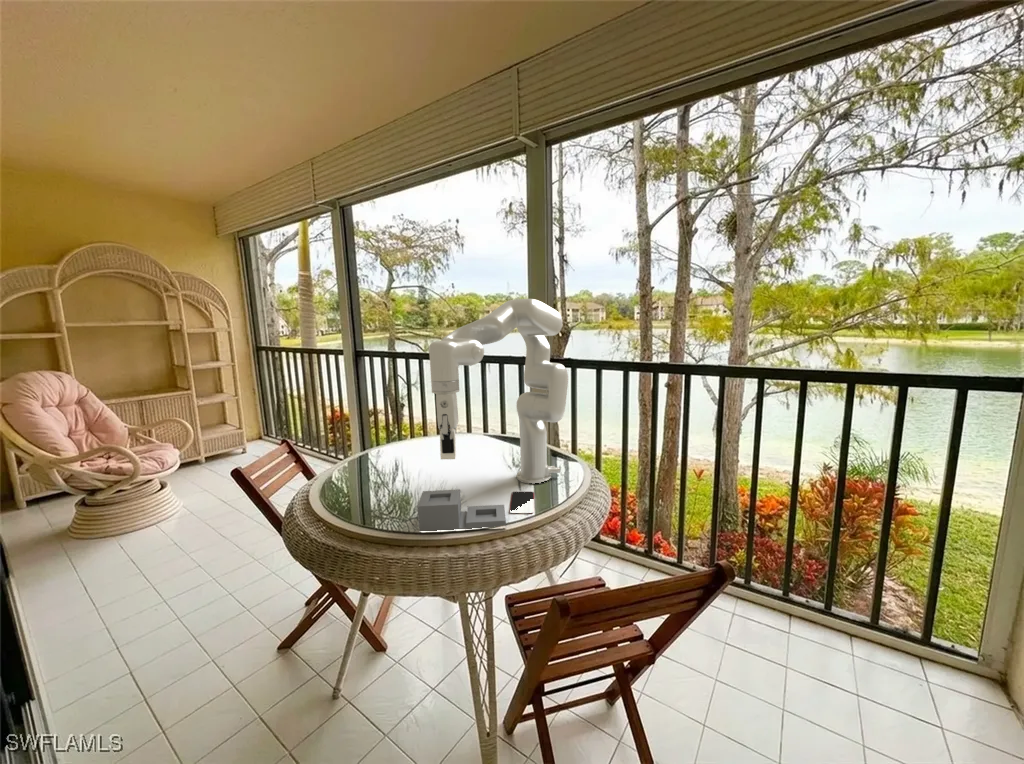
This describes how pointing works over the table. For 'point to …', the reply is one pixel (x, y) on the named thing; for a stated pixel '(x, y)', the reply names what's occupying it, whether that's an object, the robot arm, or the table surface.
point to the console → (455, 512)
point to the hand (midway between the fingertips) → (448, 450)
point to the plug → (453, 455)
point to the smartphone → (520, 499)
